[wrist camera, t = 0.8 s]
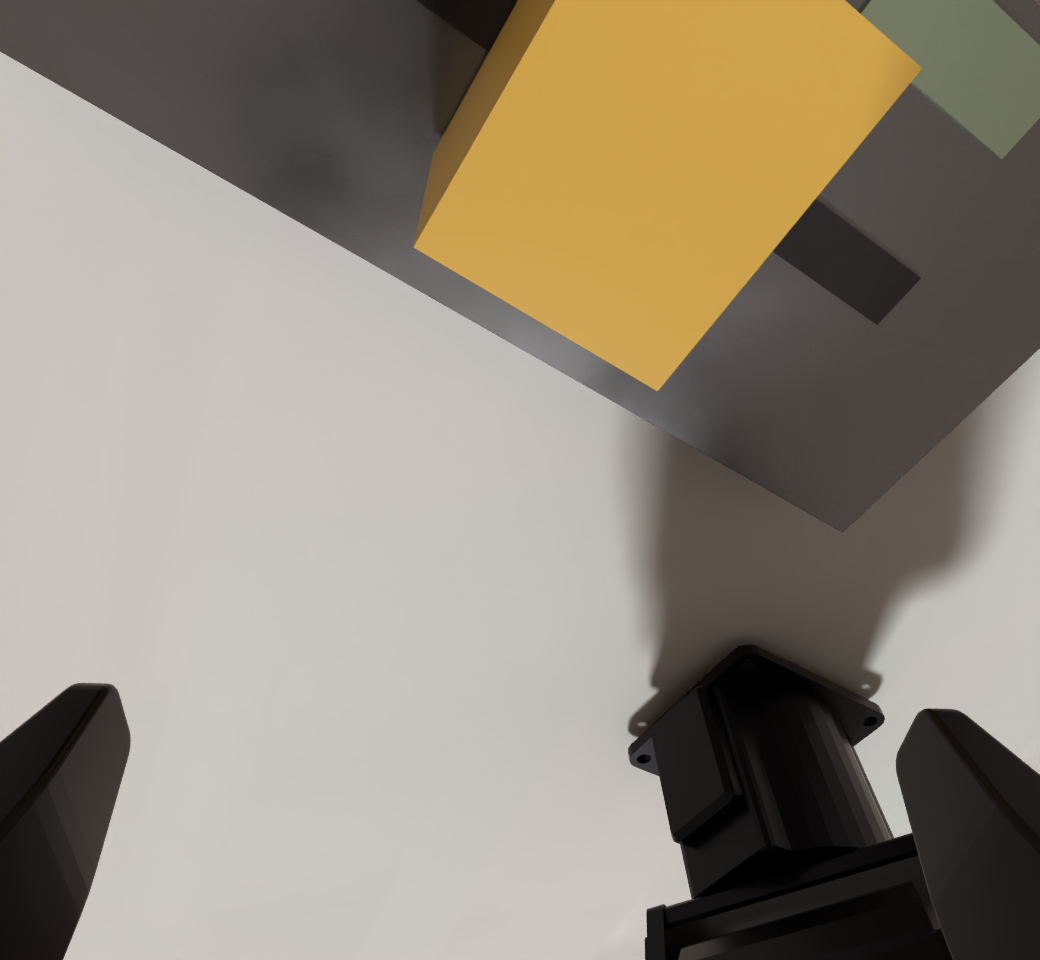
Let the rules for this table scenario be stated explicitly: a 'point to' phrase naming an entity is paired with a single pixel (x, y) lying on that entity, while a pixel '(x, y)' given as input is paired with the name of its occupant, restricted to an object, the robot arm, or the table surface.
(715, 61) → the handle
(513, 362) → the table surface
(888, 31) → the power box
